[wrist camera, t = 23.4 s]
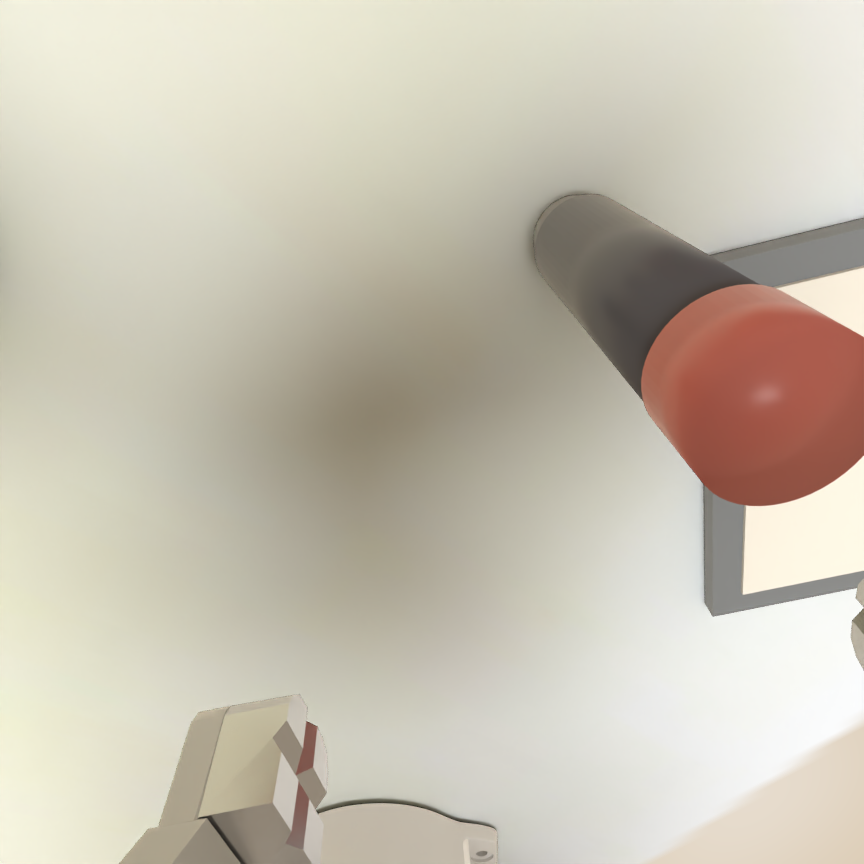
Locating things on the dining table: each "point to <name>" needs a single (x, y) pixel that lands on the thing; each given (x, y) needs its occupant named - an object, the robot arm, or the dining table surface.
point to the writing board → (822, 510)
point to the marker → (710, 352)
